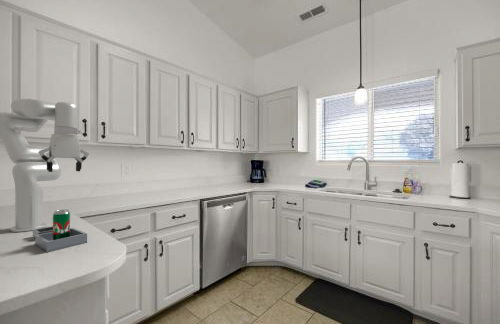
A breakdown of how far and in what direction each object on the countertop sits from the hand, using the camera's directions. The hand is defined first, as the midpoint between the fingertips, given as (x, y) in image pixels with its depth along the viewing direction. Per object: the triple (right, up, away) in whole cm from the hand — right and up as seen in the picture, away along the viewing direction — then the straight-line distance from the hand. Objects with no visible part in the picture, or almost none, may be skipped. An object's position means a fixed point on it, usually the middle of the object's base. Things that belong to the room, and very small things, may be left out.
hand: (64, 171), depth 99 cm
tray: (+8, -27, -11) cm, 30 cm away
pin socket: (-5, -27, -2) cm, 28 cm away
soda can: (+8, -27, -11) cm, 30 cm away
